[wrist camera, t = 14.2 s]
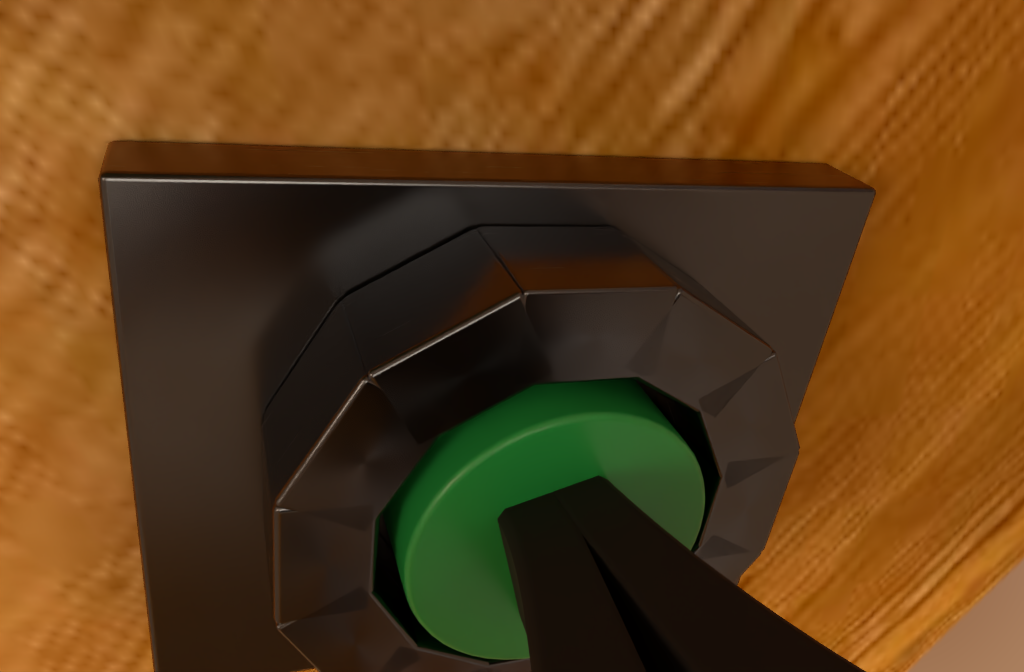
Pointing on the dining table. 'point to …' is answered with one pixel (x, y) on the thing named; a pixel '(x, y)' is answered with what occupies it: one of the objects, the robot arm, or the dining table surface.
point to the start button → (527, 498)
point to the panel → (431, 358)
